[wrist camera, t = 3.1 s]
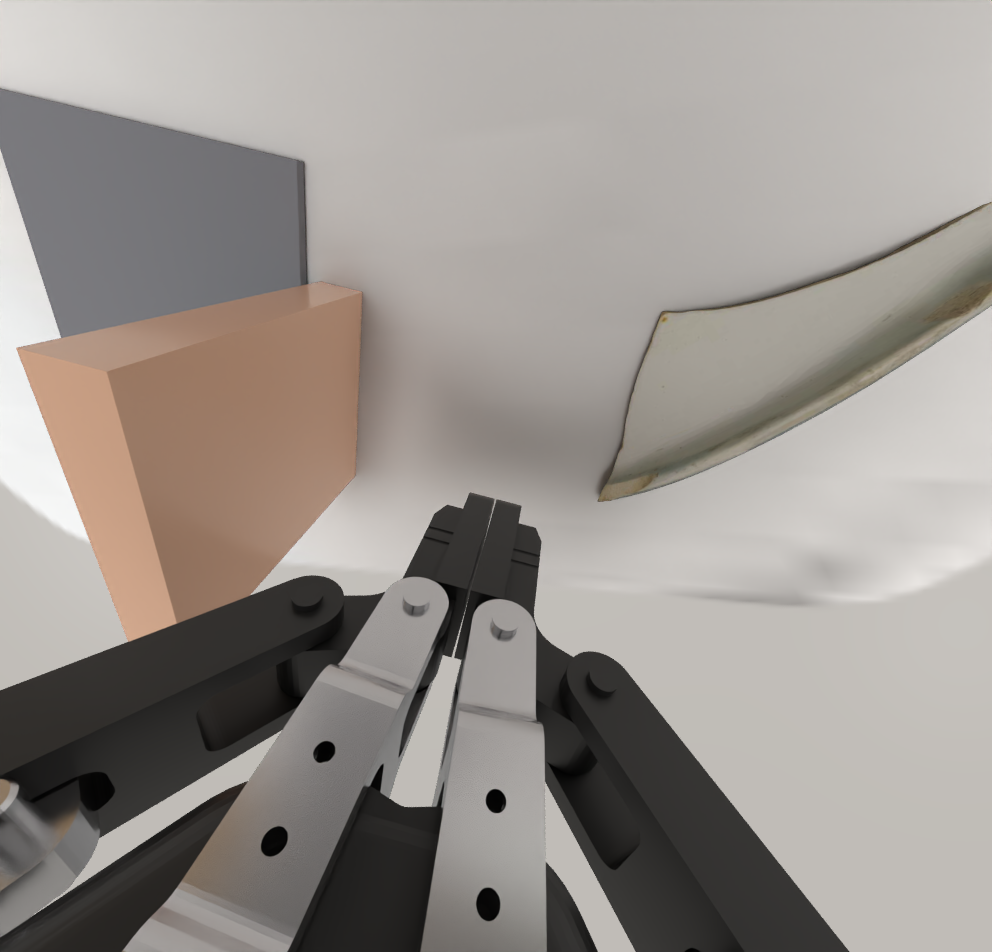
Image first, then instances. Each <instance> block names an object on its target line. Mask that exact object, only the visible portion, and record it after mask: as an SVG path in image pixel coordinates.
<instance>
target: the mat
mask: <svg viewBox="0 0 992 952" xmlns="http://www.w3.org/2000/svg"><path fill="white" fill-rule="evenodd" d="M0 149H1V152H2V155H3V159H4V162H5V165H6V168H7V171H8V174H9V177H10V180H11V183H12V186H13V190H14V193H15V196H16V199H17V202H18V205H19V208H20V211H21V214H22V217H23V221H24V224H25V227H26V230H27V233H28V236H29V239H30V242H31V245H32V248H33V251H34V255H35V258H36V261H37V264H38V267H39V270H40V273H41V276H42V279H43V282H44V286H45V289H46V292H47V295H48V298H49V301H50V304H51V307H52V310H53V313H54V317H55V320H56V323H57V326H58V329H59V332H60V335H61V338H64V337H69V336H73V335H78V334H82V333H87V332H91V331H96V330H101V329H105V328H110V327H114V326H119V325H123V324H128V323H133V322H137V321H142V320H146V319H151V318H156V317H160V316H165V315H169V314H174V313H178V312H183V311H188V310H192V309H197V308H201V307H206V306H210V305H215V304H220V303H224V302H229V301H233V300H238V299H242V298H247V297H252V296H256V295H261V294H265V293H270V292H274V291H279V290H284V289H288V288H293V287H297V286H302V285H306V284H307V279H306V240H305V201H304V162H302V161H298V160H294V159H289V158H285V157H281V156H277V155H273V154H269V153H264V152H260V151H256V150H252V149H248V148H244V147H240V146H235V145H231V144H227V143H223V142H219V141H215V140H211V139H206V138H202V137H198V136H194V135H190V134H186V133H181V132H177V131H173V130H169V129H165V128H161V127H157V126H152V125H148V124H144V123H140V122H136V121H132V120H128V119H123V118H119V117H115V116H111V115H107V114H103V113H98V112H94V111H90V110H86V109H82V108H78V107H74V106H69V105H65V104H61V103H57V102H53V101H49V100H45V99H40V98H36V97H32V96H28V95H24V94H20V93H15V92H11V91H7V90H3V89H0Z"/></svg>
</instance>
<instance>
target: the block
mask: <svg viewBox="0 0 992 952" xmlns="http://www.w3.org/2000/svg"><path fill="white" fill-rule="evenodd" d="M361 316H362V292H360V291H356V290H352V289H348V288H344V287H340V286H336V285H332V284H328V283H324V282H316V283H311V284H306V285H302V286H297V287H293V288H288V289H284V290H279V291H274V292H270V293H265V294H261V295H256V296H252V297H247V298H242V299H238V300H233V301H229V302H224V303H220V304H215V305H210V306H206V307H201V308H197V309H192V310H188V311H183V312H178V313H174V314H169V315H165V316H160V317H156V318H151V319H146V320H142V321H137V322H133V323H128V324H123V325H119V326H114V327H110V328H105V329H101V330H96V331H91V332H87V333H82V334H78V335H73V336H69V337H64V338H59V339H55V340H50V341H46V342H41V343H37V344H32V345H27V346H23V347H18V348H16V349H17V351H18V354H19V356H20V359H21V362H22V364H23V367H24V370H25V372H26V375H27V377H28V380H29V383H30V385H31V388H32V391H33V393H34V396H35V398H36V401H37V404H38V406H39V409H40V411H41V414H42V417H43V419H44V422H45V425H46V427H47V430H48V432H49V435H50V438H51V440H52V443H53V446H54V448H55V451H56V453H57V456H58V459H59V461H60V464H61V467H62V469H63V472H64V474H65V477H66V480H67V482H68V485H69V488H70V490H71V493H72V495H73V498H74V501H75V503H76V506H77V509H78V511H79V514H80V516H81V519H82V522H83V524H84V527H85V529H86V532H87V535H88V537H89V540H90V543H91V545H92V548H93V550H94V553H95V556H96V558H97V560H98V564H99V566H100V569H101V571H102V574H103V577H104V579H105V582H106V585H107V587H108V590H109V592H110V595H111V598H112V600H113V603H114V606H115V608H116V610H117V613H118V616H119V618H120V621H121V624H122V626H123V629H124V632H125V634H126V637H127V639H128V642H129V641H132V640H135V639H137V638H140V637H143V636H145V635H148V634H150V633H153V632H156V631H158V630H161V629H164V628H166V627H169V626H171V625H174V624H177V623H179V622H182V621H185V620H187V619H190V618H193V617H195V616H198V615H200V614H203V613H206V612H208V611H211V610H214V609H216V608H219V607H221V606H224V605H227V604H229V603H232V602H235V601H237V600H240V599H243V598H245V597H248V596H250V594H251V593H252V592H253V591H254V590H255V589H256V588H257V587H258V585H259V584H260V583H261V582H262V581H263V580H264V579H265V578H266V576H267V575H268V574H269V573H270V572H271V571H272V569H273V568H274V567H275V566H276V565H277V564H278V563H279V562H280V561H281V559H282V558H283V557H284V556H285V555H286V554H287V553H288V551H289V550H290V549H291V548H292V547H293V546H294V545H295V544H296V542H297V541H298V540H299V539H300V538H301V537H302V536H303V534H304V533H305V532H306V531H307V530H308V529H309V528H310V527H311V525H312V524H313V523H314V522H315V521H316V520H317V519H318V517H319V516H320V515H321V514H322V513H323V512H324V511H325V510H326V508H327V507H328V506H329V505H330V504H331V503H332V502H333V500H334V499H335V498H336V497H337V496H338V495H339V494H340V492H341V491H342V490H343V489H344V488H345V487H346V486H347V485H348V483H349V482H350V481H351V480H352V479H353V478H354V477H355V475H356V448H357V422H358V395H359V369H360V342H361Z"/></svg>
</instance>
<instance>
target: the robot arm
mask: <svg viewBox="0 0 992 952" xmlns="http://www.w3.org/2000/svg"><path fill="white" fill-rule="evenodd" d="M494 500H495V499H493V498H489V497H485V496H482V495H478V494H474V493H469V496H468V498H467V501H466V503H465V506H464V508H463V509H461V508H457V507H454V506H450V505H446V506H445V507H443V508H442V509H441V510H439V511H438V512H436V513H435V514H434V516H433V518H432V520H431V522H430V524H429V527H428V528H427V530H426V532H425V534H424V537H423V539H422V541H421V543H420V545H419V547H418V549H417V551H416V553H415V555H414V557H413V559H412V561H411V563H410V565H409V567H408V569H407V571H406V573H405V575H404V577H403V579H401V580H399V581H397V582H395V583H393V584H392V585H391V586H390V587H389V588H388V589H387V591H386V592H383V593H380V594H376V595H367V596H344V594H343V591H342V589H341V587H340V586H339V585H338V584H337V583H336V582H334V581H333V580H331V579H329V578H326V577H322V576H303V577H299V578H296V579H293V580H290V581H287V582H285V583H282V584H280V585H277V586H274V587H272V588H269V589H266V590H264V591H261V592H258V593H256V594H253V595H250V596H248V597H245V598H243V599H240V600H237V601H235V602H232V603H229V604H227V605H224V606H221V607H219V608H216V609H214V610H211V611H208V612H206V613H203V614H200V615H198V616H195V617H193V618H190V619H187V620H185V621H182V622H179V623H177V624H174V625H171V626H169V627H166V628H164V629H161V630H158V631H156V632H153V633H150V634H148V635H145V636H143V637H140V638H137V639H135V640H132V641H129V642H127V643H124V644H121V645H119V646H116V647H114V648H111V649H108V650H106V651H103V652H101V653H98V654H95V655H92V656H90V657H88V658H85V659H82V660H79V661H77V662H74V663H72V664H69V665H66V666H64V667H61V668H58V669H56V670H53V671H50V672H48V673H45V674H42V675H40V676H37V677H35V678H32V679H29V680H27V681H24V682H21V683H19V684H16V685H14V686H11V687H8V688H6V689H3V690H0V952H598V951H597V949H596V947H595V944H594V942H593V940H592V938H591V936H590V933H589V931H588V929H587V927H586V925H585V922H584V920H583V918H582V916H581V914H580V912H579V910H578V908H577V906H576V904H575V902H574V901H573V899H572V897H571V895H570V893H569V892H568V890H567V888H566V887H565V885H564V884H563V882H562V881H561V880H560V878H559V877H558V876H557V874H556V873H555V872H554V870H553V869H552V868H551V867H550V866H549V865H548V864H547V863H546V842H545V841H546V838H545V782H546V784H547V786H548V788H549V789H550V791H551V793H552V795H553V797H554V799H555V800H556V803H557V805H558V806H559V808H560V810H561V812H562V814H563V816H564V818H565V820H566V821H567V823H568V825H569V827H570V829H571V831H572V833H573V835H574V836H575V838H576V840H577V842H578V844H579V846H580V848H581V849H582V851H583V853H584V855H585V857H586V859H587V861H588V863H589V865H590V867H591V868H592V870H593V872H594V874H595V876H596V878H597V880H598V881H599V883H600V885H601V887H602V889H603V891H604V893H605V895H606V896H607V898H608V900H609V902H610V904H611V906H612V908H613V910H614V912H615V913H616V915H617V917H618V919H619V921H620V923H621V925H622V927H623V928H624V930H625V932H626V934H627V936H628V938H629V940H630V942H631V943H632V945H633V947H634V949H635V951H636V952H849V951H848V949H847V948H846V947H845V946H844V945H843V943H842V942H841V941H840V939H839V938H838V937H837V936H836V934H835V933H834V932H833V931H832V929H831V928H830V927H829V926H828V924H827V923H826V922H825V921H824V919H823V918H822V917H821V916H820V914H819V913H818V912H817V911H816V909H815V908H814V907H813V905H812V904H811V903H810V902H809V900H808V899H807V898H806V897H805V895H804V894H803V893H802V892H801V890H800V889H799V888H798V887H797V885H796V884H795V883H794V882H793V880H792V879H791V878H790V876H789V875H788V874H787V873H786V871H785V870H784V869H783V868H782V866H781V865H780V864H779V863H778V862H777V860H776V859H775V858H774V857H773V855H772V854H771V853H770V851H769V850H768V849H767V848H766V846H765V845H764V844H763V842H762V841H761V840H760V839H759V837H758V836H757V835H756V834H755V832H754V831H753V830H752V829H751V828H750V826H749V825H748V824H747V822H746V821H745V820H744V819H743V817H742V816H741V815H740V814H739V812H738V811H737V810H736V809H735V807H734V806H733V805H732V803H730V801H729V800H728V798H727V797H726V796H725V795H724V793H723V792H722V791H721V790H720V789H719V787H718V786H717V785H716V783H715V782H714V781H713V780H712V778H711V777H710V776H709V775H708V773H707V772H706V771H705V769H703V767H702V766H701V765H700V763H699V762H698V761H697V760H696V758H695V757H694V756H693V755H692V753H691V752H690V751H689V749H688V748H687V747H686V746H685V745H684V743H683V742H682V741H681V739H680V738H679V737H678V736H677V734H676V733H675V732H674V730H673V729H672V728H671V727H670V725H669V724H668V723H667V722H666V720H665V719H664V718H663V717H662V715H661V714H660V713H659V712H658V710H657V709H656V708H655V707H654V705H653V704H652V703H651V702H650V700H649V699H648V698H647V697H646V695H645V694H644V693H643V691H642V690H641V689H640V688H639V687H638V685H637V684H636V683H635V681H634V680H633V679H632V678H631V677H630V675H629V674H628V673H627V671H626V670H625V669H624V668H623V667H622V666H621V665H620V664H619V663H618V662H616V661H615V660H614V659H612V658H610V657H609V656H607V655H604V654H601V653H598V652H583V653H580V654H578V655H576V656H575V657H572V656H570V655H569V654H567V653H565V652H564V651H562V650H560V649H559V648H557V647H555V646H554V645H552V644H551V643H550V642H549V641H548V640H546V638H545V637H544V636H543V635H542V634H541V632H540V631H539V629H538V627H537V626H536V623H535V619H534V606H535V605H534V604H535V596H536V587H537V578H538V567H539V560H540V558H539V557H540V550H541V539H540V537H539V535H538V533H537V530H536V528H534V527H530V526H526V525H522V524H519V523H518V522H519V517H520V511H521V506H520V505H516V504H513V503H509V502H505V501H501V500H496V504H495V507H494V511H493V514H492V518H491V521H490V517H491V513H492V508H493V504H494ZM489 521H490V525H489ZM488 525H489V528H488ZM487 529H488V532H487ZM486 533H487V535H486ZM485 537H486V538H485ZM484 541H485V542H484ZM468 598H469V599H468ZM467 602H468V603H467ZM466 605H467V607H466ZM465 609H466V611H465ZM464 612H465V615H464ZM463 616H464V619H463ZM462 619H463V623H462V628H461V632H460V636H459V640H458V644H457V649H456V652H455V658H457V659H460V660H462V661H461V665H460V669H459V673H458V676H457V681H456V684H455V689H454V692H453V698H452V703H451V709H450V715H449V720H448V726H447V731H446V736H445V743H444V748H443V754H442V759H441V764H440V770H439V775H438V780H437V786H436V790H435V794H434V799H433V804H432V807H403V806H400V805H399V804H397V803H395V802H394V801H392V800H391V799H389V797H390V794H391V791H392V788H393V785H394V781H395V778H396V775H397V772H398V769H399V766H400V763H401V761H402V758H403V756H404V753H405V751H406V748H407V746H408V743H409V741H410V738H411V736H412V733H413V731H414V728H415V726H416V723H417V721H418V718H419V716H420V714H421V711H422V708H423V706H424V704H425V701H426V699H427V696H428V693H429V691H430V689H431V686H432V683H433V680H434V678H435V677H436V674H437V672H438V669H439V665H440V662H441V659H442V656H443V655H445V656H449V657H452V654H453V650H454V647H455V643H456V640H457V636H458V633H459V629H460V626H461V622H462ZM281 730H282V731H281ZM279 731H281V733H280V734H279V736H278V738H277V739H276V740H275V742H274V743H273V745H272V746H271V748H270V749H269V751H268V752H267V754H266V755H265V757H264V758H263V760H262V761H261V763H260V764H259V766H258V767H257V769H256V770H255V772H254V773H253V775H252V776H251V778H250V779H249V781H247V782H244V783H242V784H239V785H237V786H234V787H232V788H229V789H227V790H225V791H224V792H222V793H220V794H218V795H216V796H214V797H212V798H210V799H209V800H207V801H206V802H204V803H202V804H201V805H199V806H198V807H196V808H195V809H193V810H192V811H190V812H189V813H187V814H186V815H184V816H183V817H181V818H180V819H178V820H177V821H175V822H174V823H172V824H171V825H169V826H168V827H166V828H165V829H163V830H162V831H160V832H159V833H157V834H156V835H154V836H153V837H151V838H150V839H148V840H147V841H145V842H144V843H142V844H141V845H139V846H138V847H136V848H135V849H133V850H132V851H130V852H128V853H127V854H125V855H124V856H122V857H121V858H119V859H118V860H116V861H115V862H113V863H112V864H111V865H109V866H107V867H106V868H104V869H103V870H101V871H100V872H98V873H97V874H96V875H94V876H92V877H91V878H89V879H88V880H86V881H85V882H83V883H82V884H80V885H79V886H77V887H76V888H74V889H73V890H71V891H70V892H68V893H67V894H65V895H64V896H63V897H61V898H59V899H58V900H56V901H55V902H53V903H52V904H50V905H49V906H47V907H46V908H44V909H42V910H41V911H39V910H40V909H41V908H43V907H44V906H45V905H47V904H48V903H49V902H51V901H52V900H53V899H55V898H56V897H58V896H59V895H61V894H62V893H63V892H65V891H66V890H67V889H68V888H69V887H70V886H71V885H72V883H73V882H74V880H75V879H76V878H77V877H78V875H79V874H80V873H81V872H82V870H83V869H84V868H85V866H86V865H87V863H88V861H89V860H90V858H91V857H92V855H93V852H94V850H95V848H96V846H97V843H98V840H99V838H100V837H102V836H104V835H105V834H107V833H109V832H110V831H112V830H114V829H116V828H117V827H119V826H120V825H122V824H124V823H126V822H127V821H129V820H131V819H132V818H134V817H136V816H138V815H139V814H141V813H143V812H144V811H146V810H148V809H149V808H151V807H153V806H154V805H156V804H158V803H159V802H161V801H163V800H165V799H166V798H168V797H170V796H171V795H173V794H174V793H176V792H178V791H180V790H181V789H183V788H185V787H187V786H188V785H190V784H192V783H193V782H195V781H197V780H198V779H200V778H201V777H203V776H205V775H207V774H208V773H210V772H211V771H213V770H215V769H217V768H218V767H220V766H222V765H224V764H225V763H227V762H228V761H230V760H232V759H234V758H236V757H237V756H239V755H240V754H242V753H244V752H246V751H247V750H249V749H251V748H252V747H254V746H256V745H257V744H259V743H261V742H262V741H264V740H266V739H268V738H269V737H271V736H273V735H274V734H276V733H278V732H279ZM37 911H39V912H38V913H36V912H37ZM35 913H36V914H35ZM34 914H35V915H34ZM32 915H33V916H32ZM31 916H32V917H31Z"/></svg>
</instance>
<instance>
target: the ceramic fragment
mask: <svg viewBox="0 0 992 952" xmlns="http://www.w3.org/2000/svg"><path fill="white" fill-rule="evenodd" d="M990 306H992V202H990V203H988V204H985V205H982V206H980V207H978V208H976V209H974V210H972V211H971V212H969V213H967V214H965V215H963V216H960V217H958V218H956V219H954V220H952V221H951V222H949V223H947V224H945V225H943V226H941V227H939V228H938V229H936V230H934V231H932V232H930V233H929V234H926V235H924V236H922V237H920V238H918V239H916V240H914V241H912V242H911V243H909V244H907V245H905V246H902V247H900V248H899V249H897V250H895V251H894V252H892V253H891V254H890V255H888V256H885V257H883V258H881V259H879V260H877V261H874V262H872V263H870V264H867V265H865V266H862V267H860V268H857V269H854V270H852V271H849V272H846V273H843V274H840V275H836V276H834V277H831V278H828V279H825V280H822V281H819V282H816V283H813V284H810V285H807V286H804V287H801V288H798V289H795V290H791V291H788V292H785V293H782V294H779V295H777V296H772V297H768V298H764V299H761V300H756V301H752V302H748V303H743V304H738V305H733V306H727V307H721V308H714V309H705V310H692V311H686V312H671V311H663V312H662V313H661V316H660V318H659V321H658V323H657V326H656V329H655V331H654V334H653V336H652V339H651V342H650V345H649V347H648V350H647V353H646V356H645V358H644V361H643V364H642V366H641V369H640V371H639V374H638V377H637V380H636V383H635V386H634V392H633V393H632V396H631V401H630V404H629V410H628V414H627V418H626V422H625V432H624V438H623V443H622V446H621V449H620V451H619V453H618V455H617V460H616V462H615V465H614V469H613V472H612V474H611V476H610V478H609V480H608V482H607V483H606V485H605V486H604V488H603V489H602V492H601V494H600V496H599V498H598V502H603V501H611V500H615V499H619V498H623V497H628V496H632V495H636V494H640V493H643V492H647V491H650V490H653V489H657V488H660V487H663V486H666V485H669V484H672V483H675V482H677V481H680V480H683V479H685V478H688V477H691V476H693V475H695V474H698V473H700V472H703V471H705V470H708V469H710V468H712V467H714V466H717V465H719V464H721V463H723V462H726V461H728V460H730V459H732V458H735V457H737V456H739V455H741V454H743V453H745V452H747V451H749V450H751V449H753V448H756V447H758V446H760V445H762V444H764V443H766V442H768V441H770V440H772V439H774V438H776V437H778V436H780V435H782V434H784V433H785V432H787V431H789V430H791V429H793V428H795V427H797V426H799V425H800V424H802V423H804V422H806V421H808V420H810V419H812V418H814V417H815V416H817V415H819V414H821V413H823V412H825V411H827V410H828V409H830V408H832V407H834V406H835V405H837V404H839V403H840V402H842V401H844V400H846V399H847V398H849V397H851V396H852V395H854V394H856V393H858V392H859V391H861V390H863V389H865V388H866V387H868V386H870V385H871V384H873V383H874V382H876V381H878V380H879V379H881V378H882V377H884V376H885V375H887V374H889V373H890V372H892V371H893V370H895V369H897V368H898V367H900V366H901V365H903V364H904V363H906V362H908V361H909V360H911V359H912V358H914V357H915V356H917V355H919V354H920V353H922V352H923V351H925V350H926V349H928V348H929V347H931V346H932V345H934V344H935V343H937V342H938V341H940V340H941V339H943V338H944V337H946V336H947V335H949V334H950V333H952V332H953V331H955V330H956V329H958V328H959V327H961V326H962V325H964V324H965V323H967V322H968V321H969V320H971V319H972V318H974V317H975V316H977V315H978V314H980V313H981V312H983V311H984V310H986V309H987V308H989V307H990Z"/></svg>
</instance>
